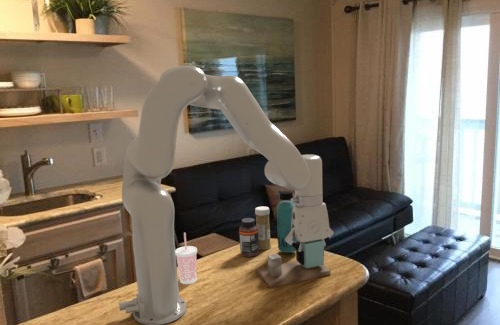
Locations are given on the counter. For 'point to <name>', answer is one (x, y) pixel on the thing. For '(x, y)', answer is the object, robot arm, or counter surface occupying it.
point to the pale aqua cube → (313, 253)
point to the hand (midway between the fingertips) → (310, 260)
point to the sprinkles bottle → (263, 227)
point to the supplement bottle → (249, 238)
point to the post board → (288, 272)
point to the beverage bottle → (284, 221)
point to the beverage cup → (187, 263)
